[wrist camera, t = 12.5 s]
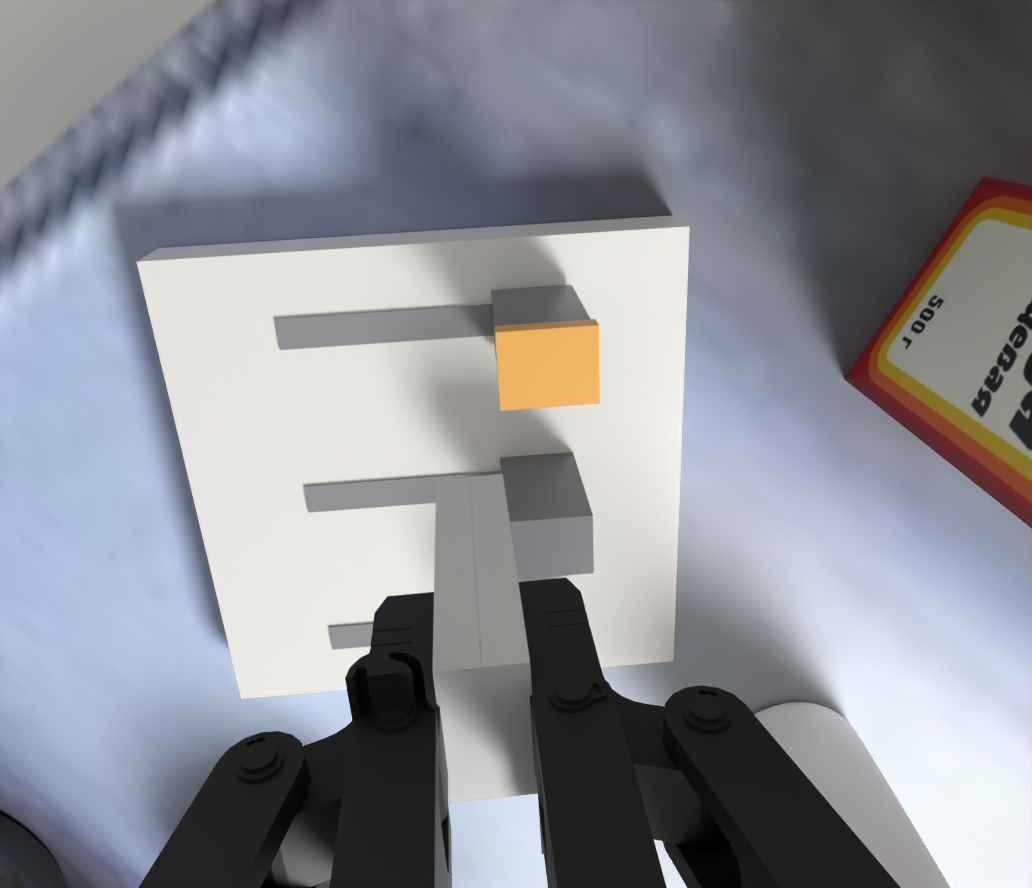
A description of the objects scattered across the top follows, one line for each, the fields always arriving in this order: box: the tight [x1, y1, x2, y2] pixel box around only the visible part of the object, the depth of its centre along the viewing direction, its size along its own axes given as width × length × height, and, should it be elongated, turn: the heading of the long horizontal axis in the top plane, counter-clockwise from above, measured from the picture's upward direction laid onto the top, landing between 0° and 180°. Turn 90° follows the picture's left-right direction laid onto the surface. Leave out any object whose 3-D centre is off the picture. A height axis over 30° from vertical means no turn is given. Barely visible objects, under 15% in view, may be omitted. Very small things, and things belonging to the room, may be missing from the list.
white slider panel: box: [137, 215, 689, 699], centre depth 33 cm, size 20×20×8 cm
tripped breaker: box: [491, 285, 600, 411], centre depth 29 cm, size 3×3×6 cm
